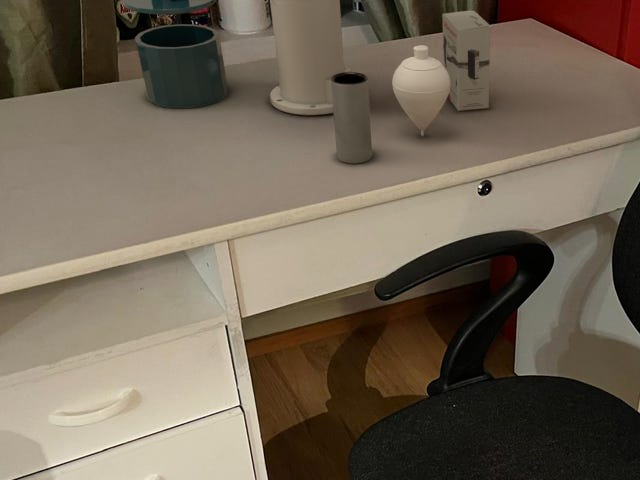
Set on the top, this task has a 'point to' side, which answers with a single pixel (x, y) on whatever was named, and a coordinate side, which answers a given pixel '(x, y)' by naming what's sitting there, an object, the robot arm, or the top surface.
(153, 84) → the pot
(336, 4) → the robot arm
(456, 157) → the top surface
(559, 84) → the top surface
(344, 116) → the gray cylinder
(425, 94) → the spinning top
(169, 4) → the lid
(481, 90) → the ink box
